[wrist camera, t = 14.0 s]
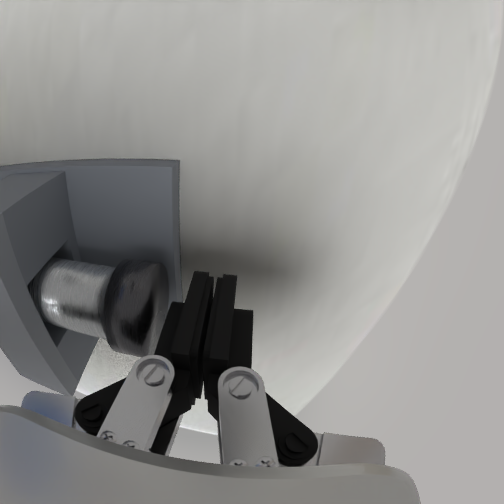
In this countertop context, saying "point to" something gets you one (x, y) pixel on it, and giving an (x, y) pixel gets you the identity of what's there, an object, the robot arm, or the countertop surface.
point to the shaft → (105, 301)
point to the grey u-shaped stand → (78, 246)
